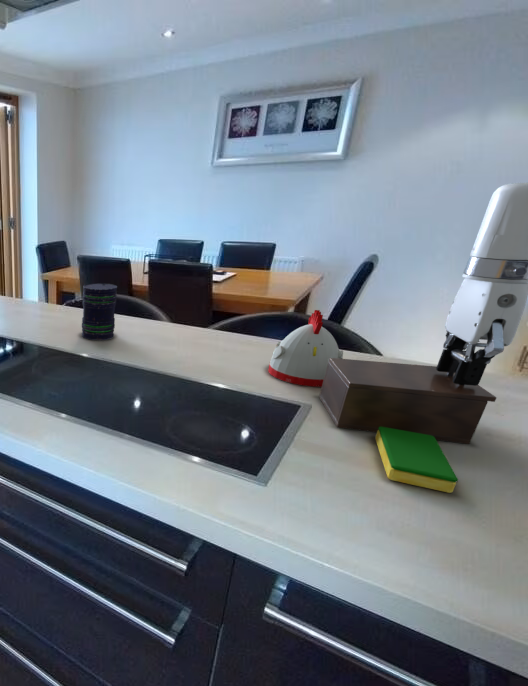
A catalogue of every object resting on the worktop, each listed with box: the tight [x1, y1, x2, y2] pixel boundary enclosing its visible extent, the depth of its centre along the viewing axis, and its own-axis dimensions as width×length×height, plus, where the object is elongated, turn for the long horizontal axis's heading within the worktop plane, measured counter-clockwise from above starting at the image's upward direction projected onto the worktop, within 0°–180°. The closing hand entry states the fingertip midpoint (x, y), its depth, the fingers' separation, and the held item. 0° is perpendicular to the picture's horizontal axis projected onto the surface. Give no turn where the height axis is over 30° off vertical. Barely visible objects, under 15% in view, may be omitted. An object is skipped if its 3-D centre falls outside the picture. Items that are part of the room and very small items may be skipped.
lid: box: [329, 349, 497, 403], centre depth 77 cm, size 19×14×6 cm
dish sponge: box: [374, 427, 459, 494], centre depth 67 cm, size 7×14×2 cm, turn 150°
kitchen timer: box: [267, 309, 344, 388], centre depth 99 cm, size 14×14×15 cm
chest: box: [318, 362, 489, 445], centre depth 80 cm, size 19×14×8 cm
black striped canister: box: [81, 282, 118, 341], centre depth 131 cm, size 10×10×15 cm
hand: (456, 376), depth 75 cm, fingers closed on lid, 5 cm apart
